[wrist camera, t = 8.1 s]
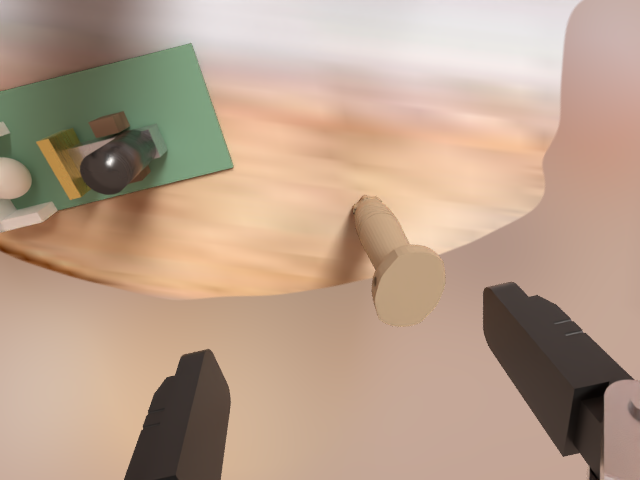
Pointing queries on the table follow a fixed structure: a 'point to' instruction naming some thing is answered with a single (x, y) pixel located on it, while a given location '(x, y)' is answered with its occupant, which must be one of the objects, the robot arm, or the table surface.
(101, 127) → the brown cardboard carton
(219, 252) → the table surface
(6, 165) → the ball
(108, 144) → the long multicoloured device
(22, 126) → the pitch
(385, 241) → the handle
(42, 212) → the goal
